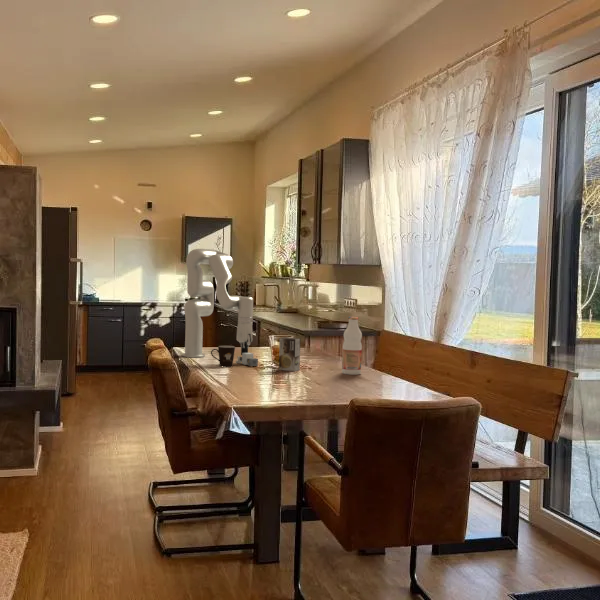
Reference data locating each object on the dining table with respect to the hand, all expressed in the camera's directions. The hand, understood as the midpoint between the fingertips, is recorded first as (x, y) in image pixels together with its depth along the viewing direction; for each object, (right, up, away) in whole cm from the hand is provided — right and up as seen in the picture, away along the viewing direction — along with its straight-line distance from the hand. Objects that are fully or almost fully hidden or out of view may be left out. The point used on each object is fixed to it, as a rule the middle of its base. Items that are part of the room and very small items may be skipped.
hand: (244, 355), depth 379 cm
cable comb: (-2, -4, +3) cm, 6 cm away
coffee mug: (-10, -5, -11) cm, 16 cm away
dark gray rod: (+2, -5, -3) cm, 6 cm away
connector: (+5, -5, -9) cm, 11 cm away
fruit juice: (+54, -8, -22) cm, 59 cm away
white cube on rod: (+2, -5, -3) cm, 6 cm away
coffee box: (+24, -6, -17) cm, 30 cm away
